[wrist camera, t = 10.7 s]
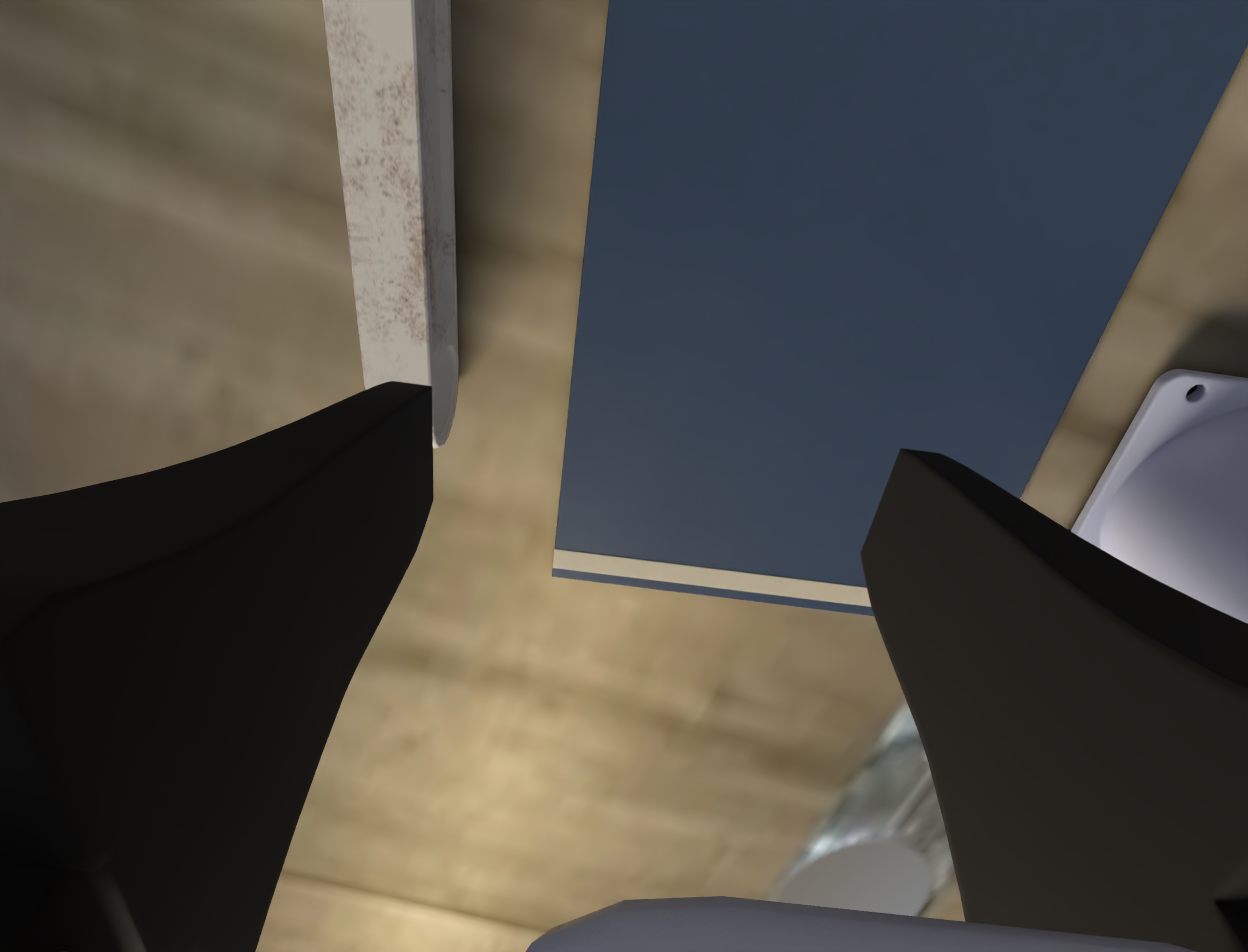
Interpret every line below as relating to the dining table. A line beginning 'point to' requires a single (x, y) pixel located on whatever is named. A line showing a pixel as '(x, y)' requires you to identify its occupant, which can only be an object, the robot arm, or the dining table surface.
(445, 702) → the dining table surface
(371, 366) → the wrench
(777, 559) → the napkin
